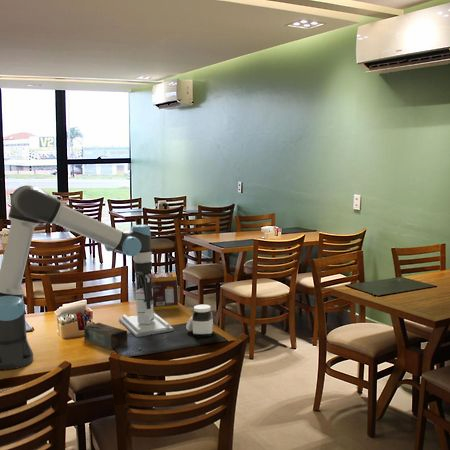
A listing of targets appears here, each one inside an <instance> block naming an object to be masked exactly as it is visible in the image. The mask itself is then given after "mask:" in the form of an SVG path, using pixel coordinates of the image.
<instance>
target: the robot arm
mask: <svg viewBox="0 0 450 450" xmlns="http://www.w3.org/2000/svg"><path fill="white" fill-rule="evenodd" d="M9 201H10V209H9V213H8V217H7V218H8V219H9V221H10V226H9V227H10V228H9V231H8V235H7V240H6V244H5V248H4V253H3V257H2V260H1V264H0V369H10V370H13V369H12V368H16V369H18V368H17V367H20V368H22V366H23V367H25V365H26V366H27V365H29V364H31V363H32V362H33V361H34V353H33V350H32V349H31V346H30V343H29V342H28V338H27V325H26V314H25V313H26V312H25V311H26V310H25V309H26V307H25V302H24V300H23V295H24V292H23V290H22V289H21V286H22V282H23V279H24V274H25V270H26V265H27V261H28V257H29V252H30V249H31V244H32V239H33V236H34V232H35V228H36V227H38V226H39V225H40V224H41V222H43V223H46V224H49V225H52V224H54V225H57V226H59V227H61V228H64V229H66V230H69V231H71V232H73V233H76V234H79V235H80V236H82V237H85V238H87V239H90V240H92V241H94V242H96V243H98V244H99V243H100V244H102V245H104V248H105V251H107V252H115V251H117V252H120V253H121V254H124V255H125V256H128V257H133V262H134V263H133V268H134V271H135V275H136V291H137V290H138V289H140V288H143V290H144V297H145V300H144V306H145V317H147V316H152V312H151V301H152V300H153V296H152V286H151V277H149V275H148V274H149V272H151V271H152V270H153V265H152V264H153V262H152V258H153V257H152V255H153V252H152V242H151V241H152V237H151V236H152V234H151V233H152V232H151V228H150V226H149V225H148V224H135V225H133V226H132V227H131V228H132V229H131V230H128V231H121V230H120V229H117V228H115V227H113V226H111V225H108V224H106V223H104V222H102V221H99V220H97V219H95V218H94V217H91V216H89V215H86V214H84V213H82V212H80V211H77V210H76V209H73V208H71V207H69V206H67V205H65V204H63V201H62V200H61V199H58V198H56V197H54V196H52V195H50V193H47V192H46V191H45V190H43V188H42V189H41V188H39V187H36V186H33V185H28V184H27V185H22V186H19V187H17V188H16V189H15V190H14V191H13V193H12V194H11V197H10V199H9Z"/></svg>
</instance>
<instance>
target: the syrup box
mask: <svg viewBox="0 0 450 450" xmlns="http://www.w3.org/2000/svg"><path fill="white" fill-rule="evenodd" d="M152 296H153V290H152ZM135 300H136V303H135V304H136V315H137V320H138V323H139V324H150V323H151V322H152V321H154V313H155V310H154V305H153V300H152V301H151V312H152V316H147V317H145V306H144V300H145V297H144V290H143V288H140V289H138V290H137V289H136V291H135Z"/></svg>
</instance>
